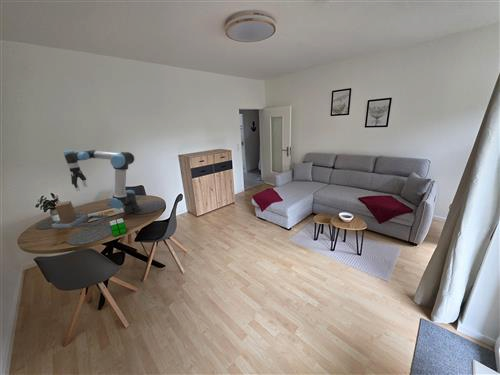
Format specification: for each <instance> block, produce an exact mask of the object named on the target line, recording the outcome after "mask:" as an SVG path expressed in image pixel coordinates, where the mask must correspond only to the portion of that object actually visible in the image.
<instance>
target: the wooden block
mask: <svg viewBox="0 0 500 375" xmlns="http://www.w3.org/2000/svg"><path fill="white" fill-rule="evenodd" d="M54 208H55V210H56V213H57V215H58V218H59V221H61V223H62V224H70V223H72V222H74V221H76V220H77V217H76V216H77V215H76V210H75V209H74V206H73V204H72V201H71V200H67V201H62V202H58V203H56V204H55V206H54Z"/></svg>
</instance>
